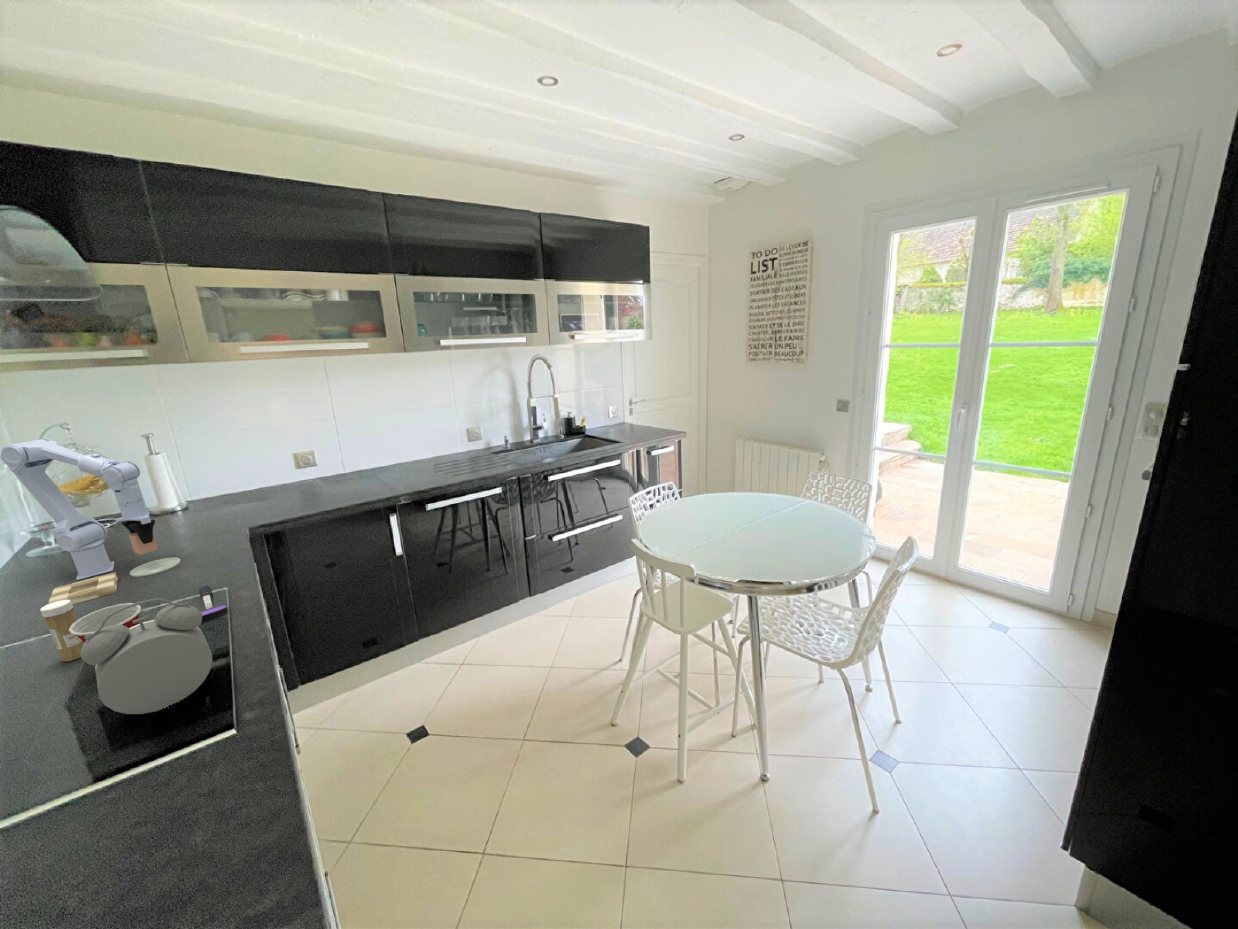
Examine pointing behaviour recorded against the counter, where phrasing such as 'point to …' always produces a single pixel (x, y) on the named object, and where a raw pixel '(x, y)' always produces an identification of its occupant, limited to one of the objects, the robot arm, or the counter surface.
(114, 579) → the maple pocket holder
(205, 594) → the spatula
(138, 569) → the sage coaster
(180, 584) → the counter surface
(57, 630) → the sprinkles bottle
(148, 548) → the terracotta block
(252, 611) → the counter surface
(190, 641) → the alarm clock
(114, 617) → the plastic cup
